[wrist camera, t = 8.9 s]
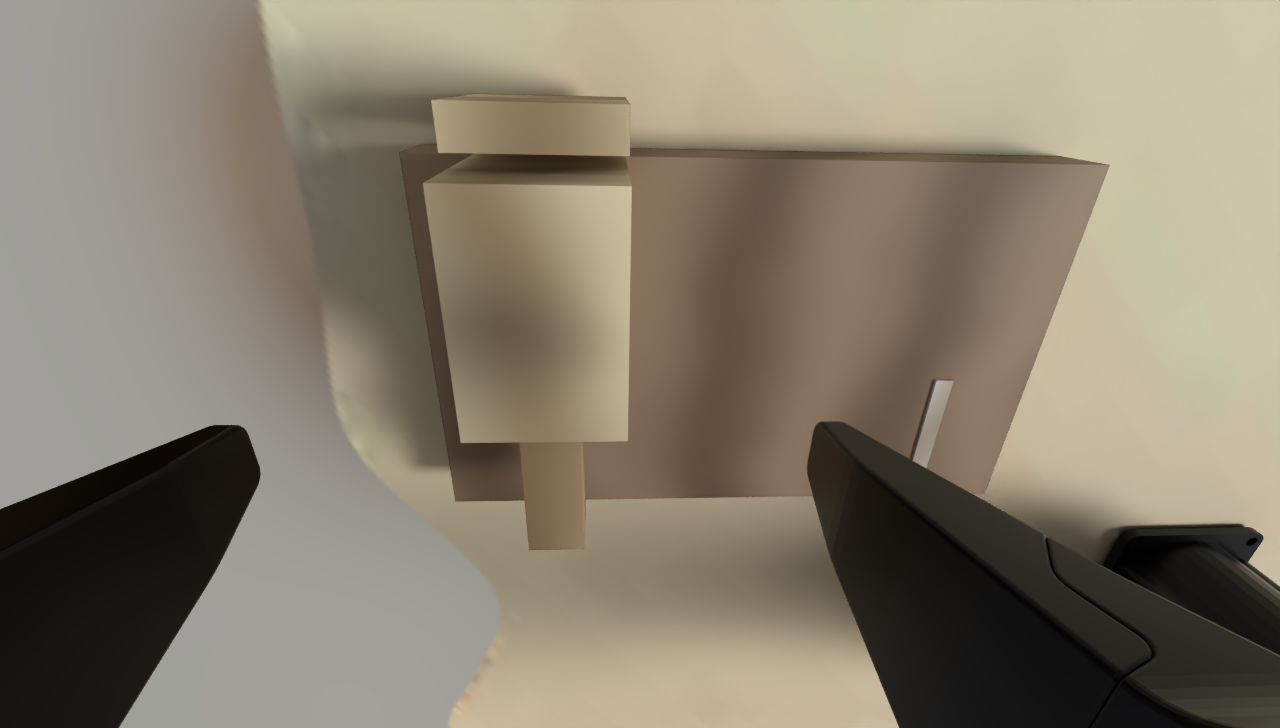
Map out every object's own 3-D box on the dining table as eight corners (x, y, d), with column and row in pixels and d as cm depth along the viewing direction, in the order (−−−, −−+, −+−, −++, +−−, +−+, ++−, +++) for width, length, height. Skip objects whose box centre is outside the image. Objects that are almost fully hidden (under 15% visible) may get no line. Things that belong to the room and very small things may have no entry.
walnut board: (1060, 156, 18) (1112, 165, 16) (956, 461, 23) (986, 494, 22) (421, 144, 17) (398, 153, 15) (467, 467, 22) (454, 503, 20)
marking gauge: (625, 97, 15) (632, 107, 10) (621, 453, 21) (625, 574, 16) (476, 93, 15) (410, 102, 10) (512, 454, 21) (480, 578, 16)
